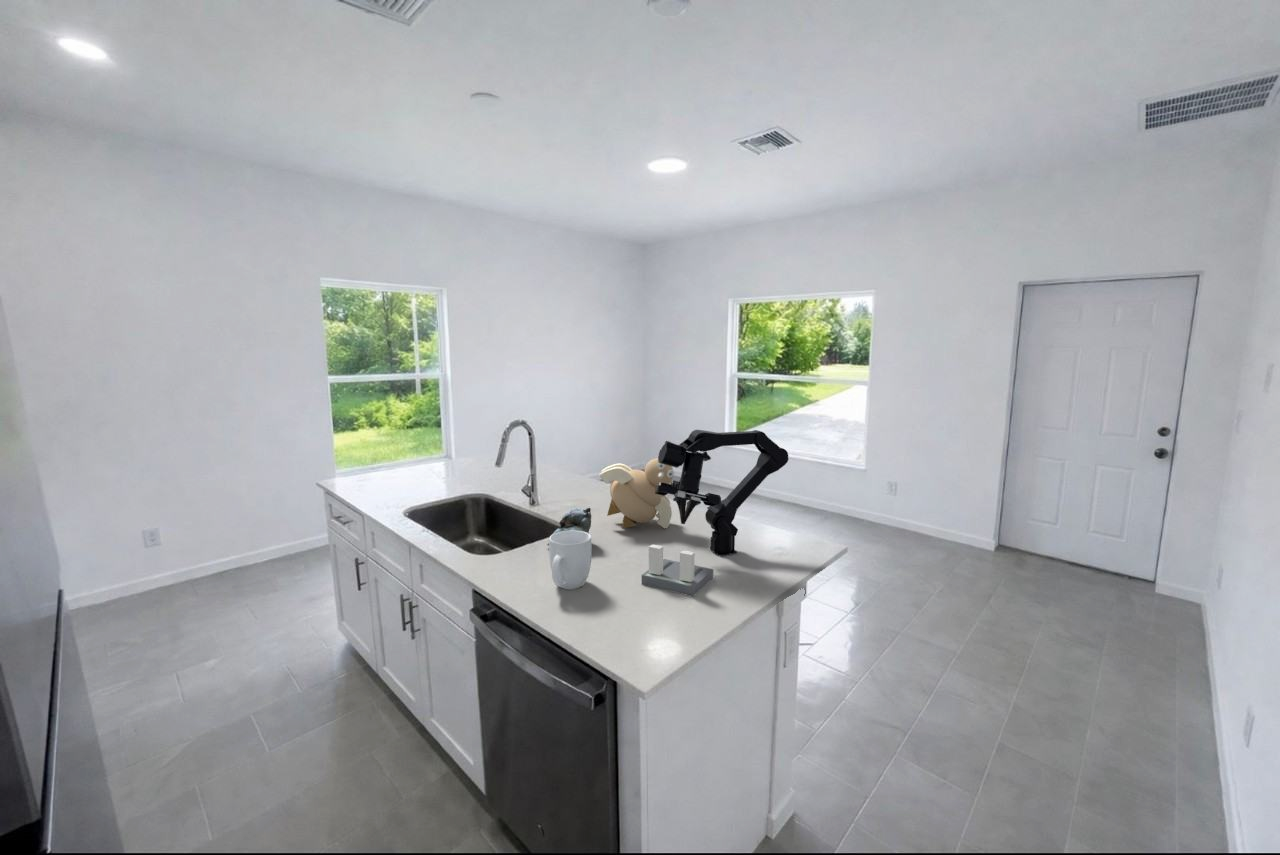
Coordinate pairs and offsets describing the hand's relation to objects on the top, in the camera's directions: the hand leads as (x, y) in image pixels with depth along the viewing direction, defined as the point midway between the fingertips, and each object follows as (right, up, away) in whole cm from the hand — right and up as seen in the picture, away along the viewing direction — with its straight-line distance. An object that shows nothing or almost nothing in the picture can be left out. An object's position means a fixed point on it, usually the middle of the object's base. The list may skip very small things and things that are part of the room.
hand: (682, 524), depth 155 cm
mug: (-31, -14, -13) cm, 36 cm away
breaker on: (0, -11, -16) cm, 20 cm away
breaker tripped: (-8, -11, -12) cm, 18 cm away
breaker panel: (-2, -14, -10) cm, 17 cm away
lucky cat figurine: (-34, -10, +16) cm, 39 cm away
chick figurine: (-13, -7, +38) cm, 41 cm away
